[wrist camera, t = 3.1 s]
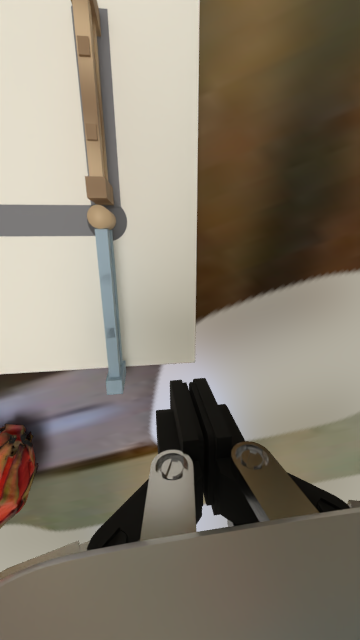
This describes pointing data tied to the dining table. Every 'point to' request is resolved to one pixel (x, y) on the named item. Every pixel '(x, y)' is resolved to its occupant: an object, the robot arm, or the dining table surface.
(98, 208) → the panel
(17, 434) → the dragon fruit
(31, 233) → the card
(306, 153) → the dining table surface
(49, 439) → the dining table surface
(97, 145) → the fence section
